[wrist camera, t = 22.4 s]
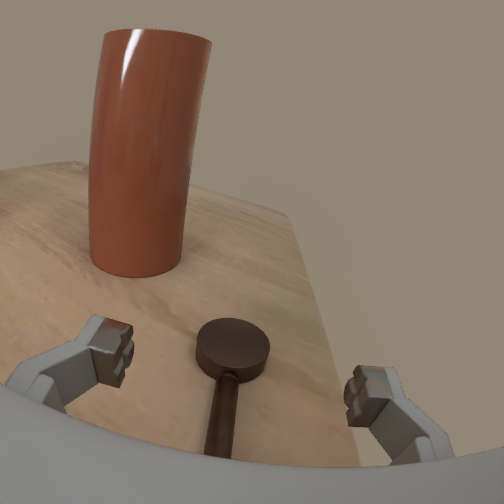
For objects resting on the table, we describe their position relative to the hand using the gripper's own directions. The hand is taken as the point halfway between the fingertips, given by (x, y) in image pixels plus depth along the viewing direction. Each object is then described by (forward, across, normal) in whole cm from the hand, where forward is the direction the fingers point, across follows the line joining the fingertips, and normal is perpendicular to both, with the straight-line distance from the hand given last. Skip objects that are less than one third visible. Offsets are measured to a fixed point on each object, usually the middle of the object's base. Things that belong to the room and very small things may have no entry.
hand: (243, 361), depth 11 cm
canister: (+24, +13, +10) cm, 29 cm away
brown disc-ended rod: (+3, 0, +11) cm, 11 cm away
